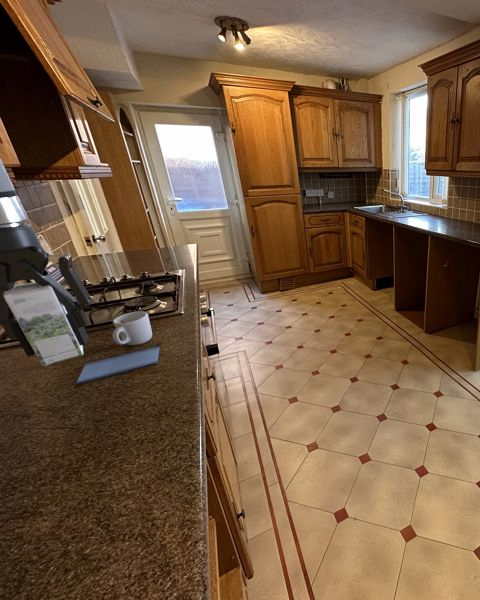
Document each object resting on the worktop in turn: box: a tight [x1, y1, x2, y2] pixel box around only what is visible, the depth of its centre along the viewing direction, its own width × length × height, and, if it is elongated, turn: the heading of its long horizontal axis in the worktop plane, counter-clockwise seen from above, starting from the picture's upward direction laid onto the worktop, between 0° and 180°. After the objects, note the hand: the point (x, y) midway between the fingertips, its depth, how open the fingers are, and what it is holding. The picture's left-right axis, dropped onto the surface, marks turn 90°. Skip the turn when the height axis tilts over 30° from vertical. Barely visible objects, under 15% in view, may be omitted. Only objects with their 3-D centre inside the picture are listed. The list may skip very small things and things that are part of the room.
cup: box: [112, 310, 153, 346], centre depth 92 cm, size 11×8×8 cm
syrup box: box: [3, 281, 84, 367], centre depth 59 cm, size 6×6×14 cm
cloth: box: [75, 346, 160, 385], centre depth 84 cm, size 16×9×1 cm, turn 121°
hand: (59, 346), depth 61 cm, fingers closed on syrup box, 6 cm apart
